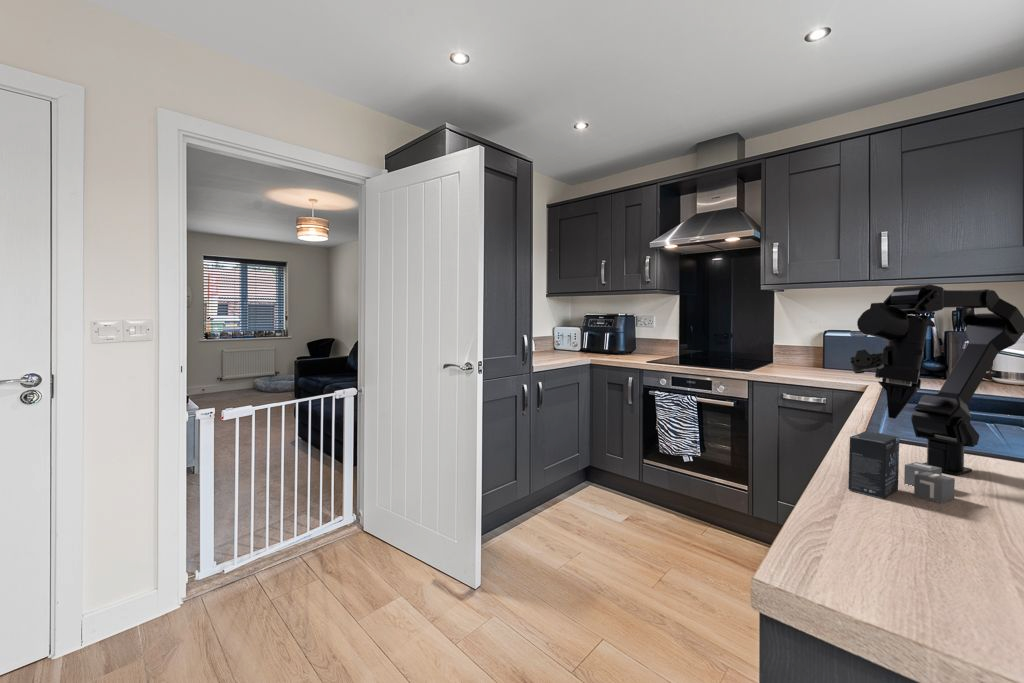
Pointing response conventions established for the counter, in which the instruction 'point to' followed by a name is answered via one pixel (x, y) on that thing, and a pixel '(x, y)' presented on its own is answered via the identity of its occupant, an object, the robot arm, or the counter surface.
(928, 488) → the marked cube seven
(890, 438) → the box
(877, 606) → the counter surface
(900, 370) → the robot arm
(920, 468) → the marked cube one
